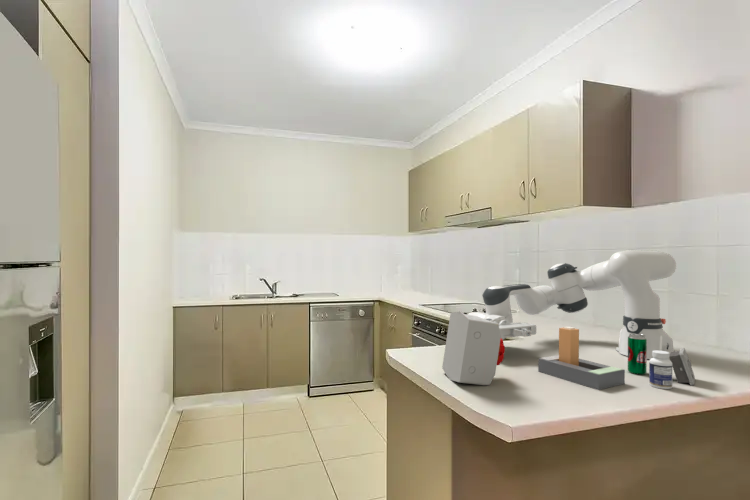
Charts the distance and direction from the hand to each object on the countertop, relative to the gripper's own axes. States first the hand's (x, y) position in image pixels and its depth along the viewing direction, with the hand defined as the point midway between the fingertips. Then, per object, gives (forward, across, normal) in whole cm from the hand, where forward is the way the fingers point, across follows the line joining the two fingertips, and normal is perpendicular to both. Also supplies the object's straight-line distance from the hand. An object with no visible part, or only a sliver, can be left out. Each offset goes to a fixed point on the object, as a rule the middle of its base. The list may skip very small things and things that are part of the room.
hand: (528, 333), depth 142 cm
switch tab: (+16, 0, -9) cm, 18 cm away
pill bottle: (+35, -13, -10) cm, 39 cm away
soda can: (+24, -21, -10) cm, 34 cm away
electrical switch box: (+6, +29, -10) cm, 31 cm away
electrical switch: (+35, -25, -10) cm, 44 cm away
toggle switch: (+19, 0, -10) cm, 22 cm away
